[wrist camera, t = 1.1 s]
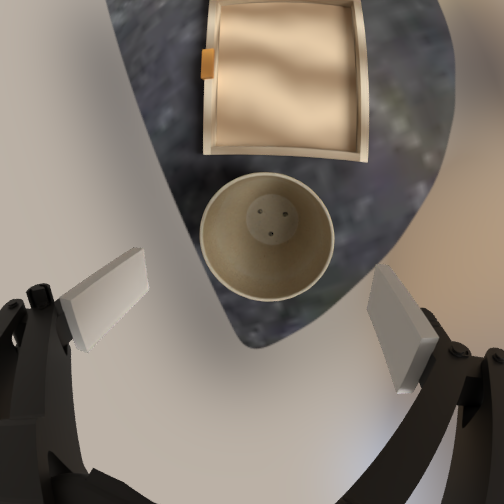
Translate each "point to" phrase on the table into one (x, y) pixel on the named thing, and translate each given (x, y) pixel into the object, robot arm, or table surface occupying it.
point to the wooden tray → (286, 79)
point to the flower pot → (266, 236)
